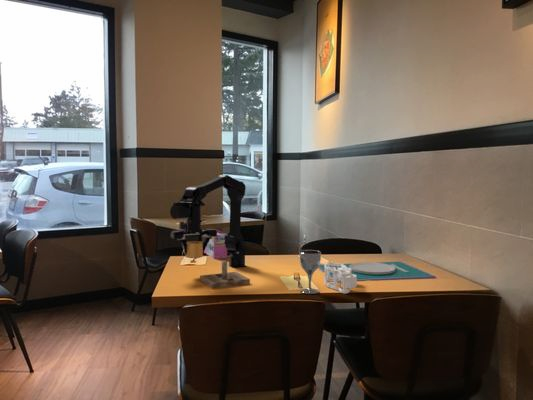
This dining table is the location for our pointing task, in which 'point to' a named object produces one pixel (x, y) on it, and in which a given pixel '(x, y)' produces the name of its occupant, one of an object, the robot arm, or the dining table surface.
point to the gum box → (216, 246)
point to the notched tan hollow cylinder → (194, 249)
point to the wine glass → (310, 266)
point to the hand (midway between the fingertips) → (194, 254)
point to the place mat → (383, 271)
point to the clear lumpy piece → (339, 277)
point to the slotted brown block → (224, 278)
